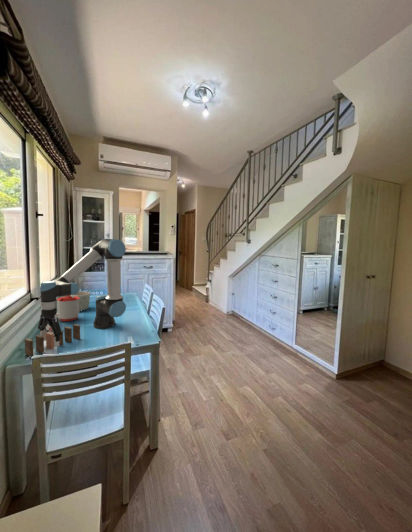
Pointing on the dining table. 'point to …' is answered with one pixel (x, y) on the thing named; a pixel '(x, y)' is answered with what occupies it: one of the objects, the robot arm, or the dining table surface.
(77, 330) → the domino
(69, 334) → the domino
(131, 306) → the dining table surface
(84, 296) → the planter
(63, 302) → the citrus juicer
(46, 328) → the ink cartridge box
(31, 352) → the domino
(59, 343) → the domino
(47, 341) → the domino
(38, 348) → the domino
